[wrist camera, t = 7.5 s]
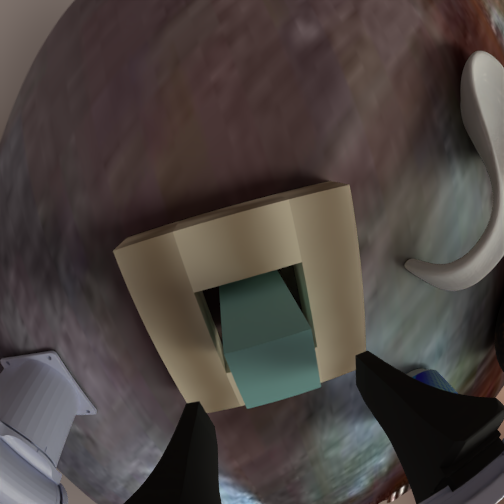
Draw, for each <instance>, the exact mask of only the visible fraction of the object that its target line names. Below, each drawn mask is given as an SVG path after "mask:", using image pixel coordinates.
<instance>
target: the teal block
mask: <svg viewBox="0 0 504 504" xmlns="http://www.w3.org/2000/svg"><path fill="white" fill-rule="evenodd" d="M219 295H220V311H221V325H222V339H223V351H224V356H225V359H226V361H227V363H228V366H229V368H230V371H231V373H232V375H233V378H234V380H235V382H236V385H237V387H238V389H239V392H240V394H241V396H242V398H243V401H244V403H245V405H246V407H247V409H249V408H253V407H257V406H260V405H264V404H268V403H272V402H275V401H279V400H282V399H286V398H289V397H292V396H295V395H299V394H302V393H305V392H308V391H311V390H314V389H317V388H320V387H321V384H320V377H319V371H318V364H317V358H316V352H315V346H314V340H313V335H312V329H311V327H310V325H309V324H308V322H307V320H306V318H305V317H304V315H303V313H302V312H301V310H300V308H299V306H298V305H297V303H296V301H295V300H294V298H293V296H292V295H291V293H290V291H289V289H288V288H287V286H286V284H285V283H284V281H283V279H282V278H281V276H280V274H279V272H278V271H277V270H274V271H270V272H267V273H263V274H260V275H256V276H253V277H249V278H246V279H242V280H239V281H235V282H231V283H228V284H224V285H221V286H219Z"/></svg>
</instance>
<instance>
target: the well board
mask: <svg viewBox="0 0 504 504" xmlns="http://www.w3.org/2000/svg"><path fill="white" fill-rule="evenodd" d="M113 252H114V255H115V258H116V260H117V263H118V265H119V268H120V270H121V273H122V275H123V278H124V280H125V283H126V285H127V287H128V290H129V292H130V294H131V297H132V299H133V301H134V303H135V306H136V308H137V310H138V312H139V314H140V317H141V319H142V321H143V323H144V325H145V327H146V329H147V331H148V333H149V335H150V337H151V339H152V341H153V343H154V345H155V347H156V349H157V351H158V353H159V355H160V357H161V358H162V360H163V362H164V364H165V366H166V368H167V370H168V371H169V373H170V375H171V377H172V378H173V380H174V382H175V384H176V385H177V387H178V389H179V391H180V392H181V394H182V396H183V397H184V399H185V401H186V402H187V403H191V402H197V401H200V403H201V405H202V406H203V408H204V410H205V411H206V413H211V412H216V411H221V410H226V409H230V408H235V407H239V406H243V405H245V403H244V401H243V398H242V396H241V394H240V392H239V389H238V387H237V385H236V382H235V380H234V378H233V375H232V373H231V371H230V368H229V366H228V363H227V361H226V359H225V356H224V351H223V345H222V342H221V340H220V337H219V334H218V332H217V329H216V327H215V324H214V321H213V319H212V316H211V313H210V311H209V308H208V305H207V302H206V300H205V297H204V294H203V291H202V290H206V289H210V288H213V287H217V286H221V285H224V284H228V283H231V282H235V281H239V280H242V279H246V278H249V277H253V276H256V275H260V274H263V273H267V272H270V271H274V270H277V269H280V268H284V267H287V266H291V265H293V268H294V273H295V277H296V282H297V287H298V292H299V297H300V302H301V307H302V312H303V315H304V317H305V318H306V320H307V322H308V324H309V325H310V327H311V329H312V335H313V340H314V346H315V352H316V358H317V364H318V371H319V377H320V383H322V382H325V381H328V380H330V379H333V378H336V377H339V376H341V375H344V374H346V373H349V372H352V371H354V370H356V359H355V355H358V354H360V353H363V352H365V351H366V335H365V313H364V297H363V284H362V273H361V263H360V254H359V245H358V237H357V229H356V222H355V215H354V209H353V203H352V197H351V191H350V185H348V184H343V183H338V182H332V181H328V182H323V183H319V184H315V185H311V186H306V187H302V188H298V189H294V190H290V191H286V192H282V193H278V194H274V195H270V196H266V197H262V198H259V199H255V200H251V201H247V202H244V203H240V204H236V205H233V206H229V207H225V208H222V209H218V210H215V211H211V212H208V213H204V214H201V215H198V216H194V217H191V218H187V219H184V220H181V221H178V222H174V223H171V224H168V225H165V226H161V227H158V228H155V229H152V230H149V231H146V232H143V233H139V234H136V235H133V236H130V237H127V238H126V239H125V240H124V241H123V242H122V243H121V244H120V245H119V246H118V247H116V248H115V249H114V250H113Z"/></svg>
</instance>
